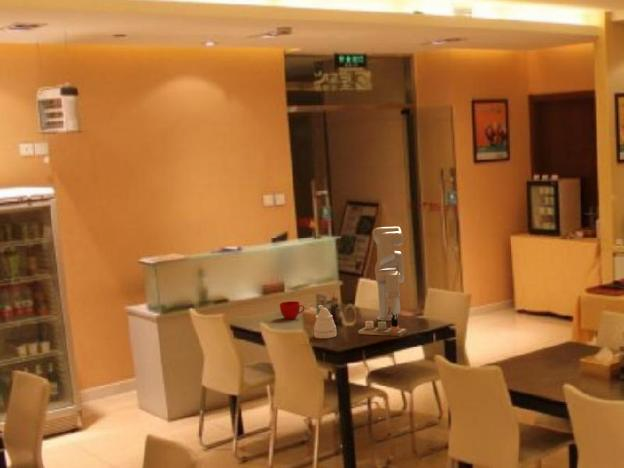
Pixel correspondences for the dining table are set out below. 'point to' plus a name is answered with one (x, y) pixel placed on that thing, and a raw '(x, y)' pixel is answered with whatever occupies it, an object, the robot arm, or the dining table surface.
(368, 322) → the button one
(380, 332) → the wooden panel frame
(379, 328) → the button two
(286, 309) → the ceramic cup
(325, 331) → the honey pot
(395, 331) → the button three
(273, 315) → the dining table surface
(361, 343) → the dining table surface
